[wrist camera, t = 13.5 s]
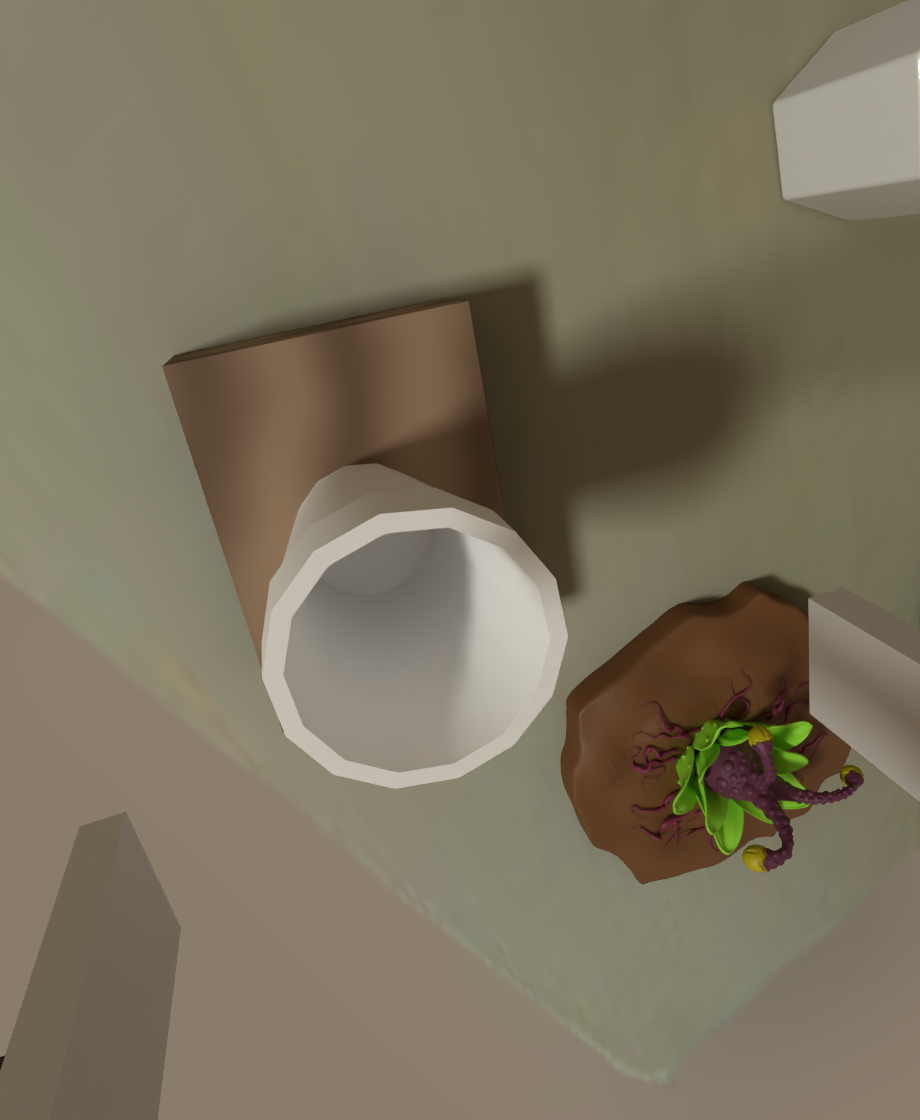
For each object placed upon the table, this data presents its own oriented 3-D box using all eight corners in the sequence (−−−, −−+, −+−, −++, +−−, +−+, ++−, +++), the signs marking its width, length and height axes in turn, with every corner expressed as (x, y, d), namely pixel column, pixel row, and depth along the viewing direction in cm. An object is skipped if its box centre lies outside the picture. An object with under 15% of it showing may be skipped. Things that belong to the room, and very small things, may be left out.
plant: (509, 698, 46) (581, 815, 36) (778, 541, 47) (921, 611, 37) (622, 898, 55) (706, 1040, 45) (848, 760, 56) (981, 868, 46)
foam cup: (501, 533, 37) (619, 652, 25) (360, 659, 37) (409, 836, 25) (371, 383, 33) (437, 440, 21) (214, 526, 33) (191, 660, 21)
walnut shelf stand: (442, 298, 37) (468, 300, 33) (501, 619, 44) (529, 658, 39) (174, 355, 35) (162, 366, 30) (279, 683, 42) (282, 732, 37)
